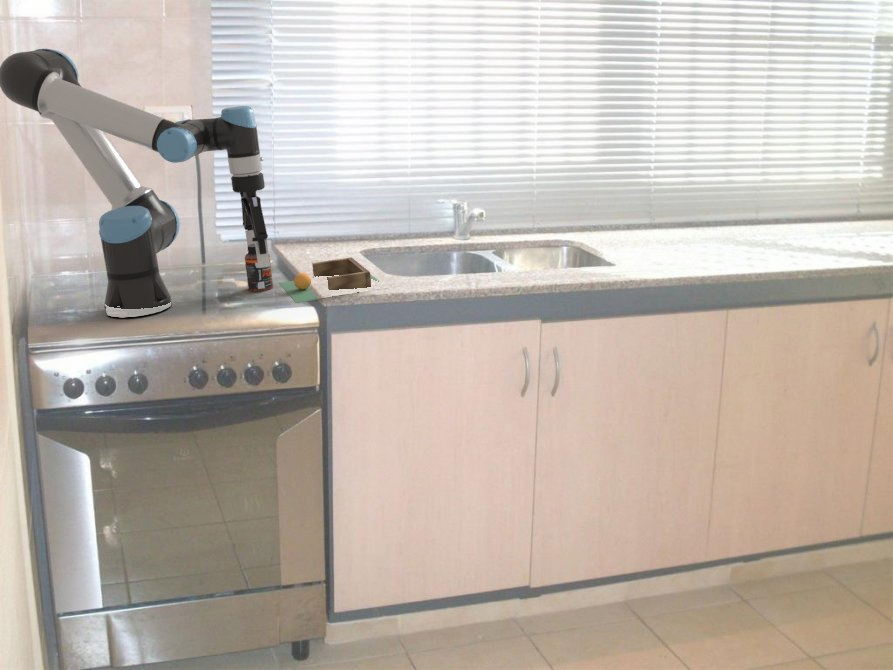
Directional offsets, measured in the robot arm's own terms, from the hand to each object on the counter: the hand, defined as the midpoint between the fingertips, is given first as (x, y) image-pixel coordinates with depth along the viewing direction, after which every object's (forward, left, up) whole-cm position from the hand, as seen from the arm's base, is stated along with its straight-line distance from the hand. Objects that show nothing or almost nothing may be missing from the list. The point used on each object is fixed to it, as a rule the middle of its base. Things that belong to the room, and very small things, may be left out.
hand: (259, 261), depth 268 cm
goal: (+18, -7, -7) cm, 20 cm away
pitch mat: (+16, -7, -7) cm, 19 cm away
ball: (+9, -7, -7) cm, 13 cm away
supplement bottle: (0, 0, -7) cm, 7 cm away
